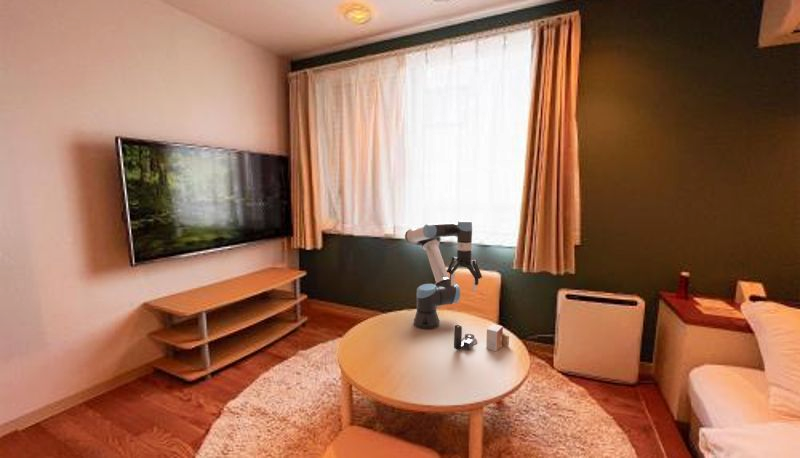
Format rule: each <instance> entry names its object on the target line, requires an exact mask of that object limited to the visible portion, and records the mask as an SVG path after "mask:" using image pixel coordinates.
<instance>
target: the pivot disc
mask: <svg viewBox="0 0 800 458" xmlns="http://www.w3.org/2000/svg"><path fill="white" fill-rule="evenodd" d="M464 339H465V336H464V337H462V341H463V340H464ZM476 344H478V340H477V338H475V337H474V345H476Z"/></svg>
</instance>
